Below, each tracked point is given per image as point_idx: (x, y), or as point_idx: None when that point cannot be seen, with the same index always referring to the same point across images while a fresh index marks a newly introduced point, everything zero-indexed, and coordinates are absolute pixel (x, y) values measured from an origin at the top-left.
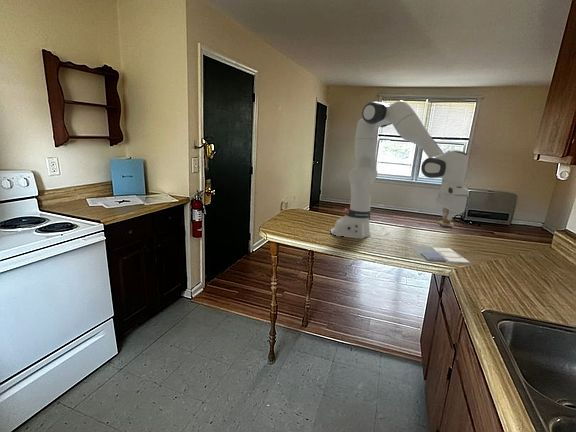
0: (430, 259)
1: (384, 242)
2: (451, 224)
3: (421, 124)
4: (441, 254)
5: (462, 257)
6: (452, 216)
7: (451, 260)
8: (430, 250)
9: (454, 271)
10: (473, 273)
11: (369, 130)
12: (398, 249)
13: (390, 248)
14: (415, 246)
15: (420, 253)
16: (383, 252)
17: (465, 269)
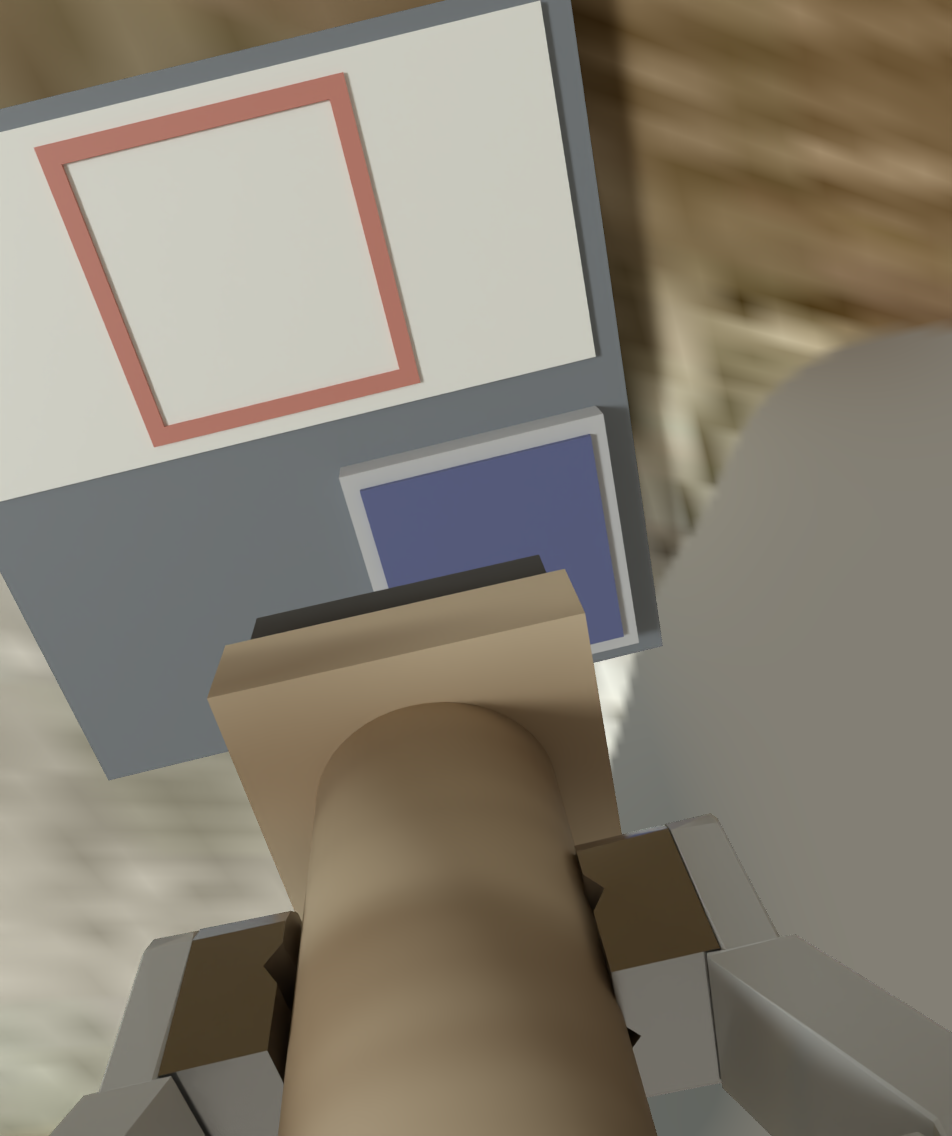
0: (631, 607)
1: (18, 995)
2: (589, 664)
3: None
4: (312, 414)
5: (318, 67)
6: (769, 928)
7: (551, 317)
8: (164, 540)
9: (818, 330)
10: (847, 60)
11: None
12: (225, 866)
13: None
14: (76, 718)
15: None
16: None
17: (713, 141)
